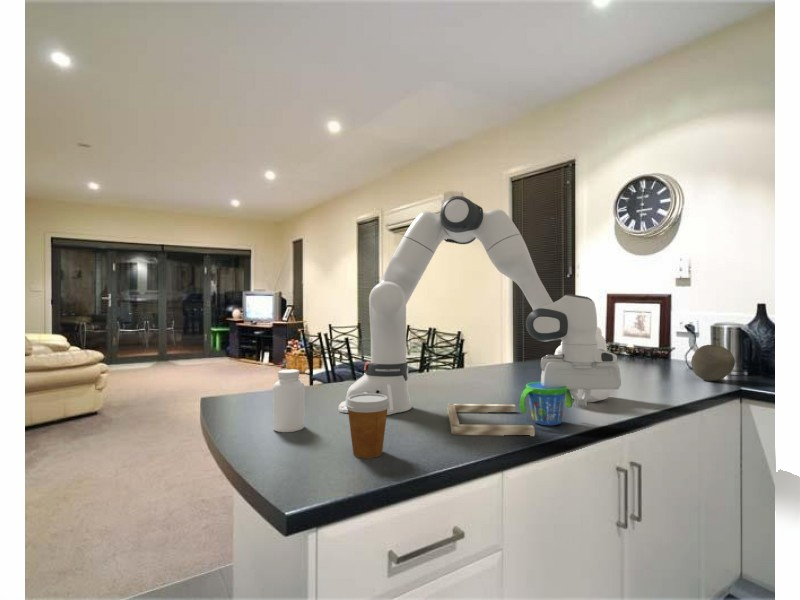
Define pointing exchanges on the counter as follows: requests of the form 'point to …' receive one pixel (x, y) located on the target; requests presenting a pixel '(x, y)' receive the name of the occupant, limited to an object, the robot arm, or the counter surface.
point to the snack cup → (546, 403)
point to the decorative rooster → (595, 393)
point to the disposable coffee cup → (367, 423)
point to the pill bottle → (288, 402)
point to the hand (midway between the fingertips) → (580, 405)
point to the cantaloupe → (712, 362)
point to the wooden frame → (485, 429)
